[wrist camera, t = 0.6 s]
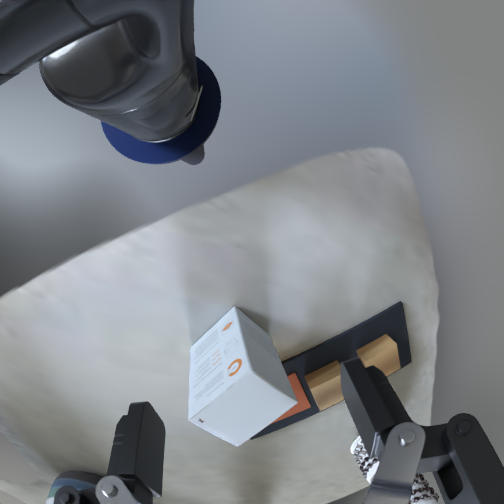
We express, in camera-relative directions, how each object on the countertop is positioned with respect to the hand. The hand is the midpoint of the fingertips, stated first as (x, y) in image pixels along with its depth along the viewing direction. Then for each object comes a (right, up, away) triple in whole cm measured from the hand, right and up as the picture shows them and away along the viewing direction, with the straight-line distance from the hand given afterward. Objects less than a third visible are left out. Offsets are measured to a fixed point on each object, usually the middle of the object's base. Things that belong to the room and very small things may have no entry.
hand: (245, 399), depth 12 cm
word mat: (+10, -12, +29) cm, 33 cm away
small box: (-2, -5, +26) cm, 26 cm away
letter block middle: (+11, -12, +29) cm, 33 cm away
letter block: (+18, -9, +29) cm, 35 cm away
